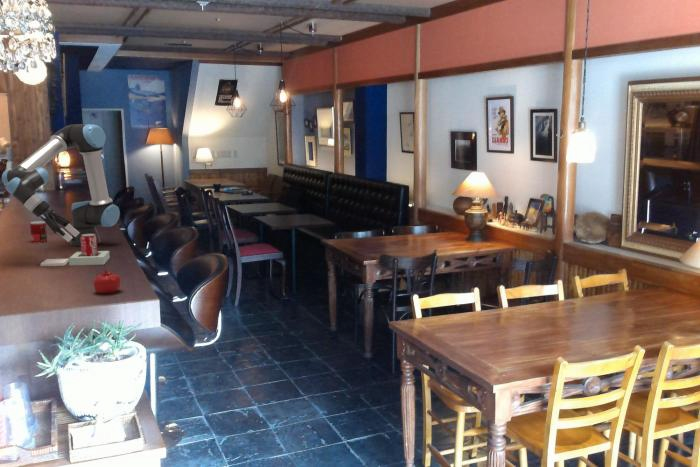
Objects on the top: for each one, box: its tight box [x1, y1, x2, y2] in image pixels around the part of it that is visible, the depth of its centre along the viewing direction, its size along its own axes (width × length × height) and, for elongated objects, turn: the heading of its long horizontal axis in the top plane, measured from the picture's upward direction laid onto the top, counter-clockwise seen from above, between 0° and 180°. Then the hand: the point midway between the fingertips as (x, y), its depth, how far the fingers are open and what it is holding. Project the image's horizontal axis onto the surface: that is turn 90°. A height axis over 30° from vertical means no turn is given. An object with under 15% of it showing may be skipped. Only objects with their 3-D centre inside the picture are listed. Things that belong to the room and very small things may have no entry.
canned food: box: [29, 220, 48, 243], centre depth 350 cm, size 8×8×11 cm
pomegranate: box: [92, 268, 122, 295], centre depth 247 cm, size 10×10×9 cm
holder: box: [68, 250, 111, 267], centre depth 301 cm, size 15×15×4 cm
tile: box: [40, 258, 69, 267], centre depth 297 cm, size 10×10×1 cm
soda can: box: [80, 234, 99, 256], centre depth 300 cm, size 7×7×13 cm
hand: (74, 237), depth 297 cm, fingers open, 13 cm apart
